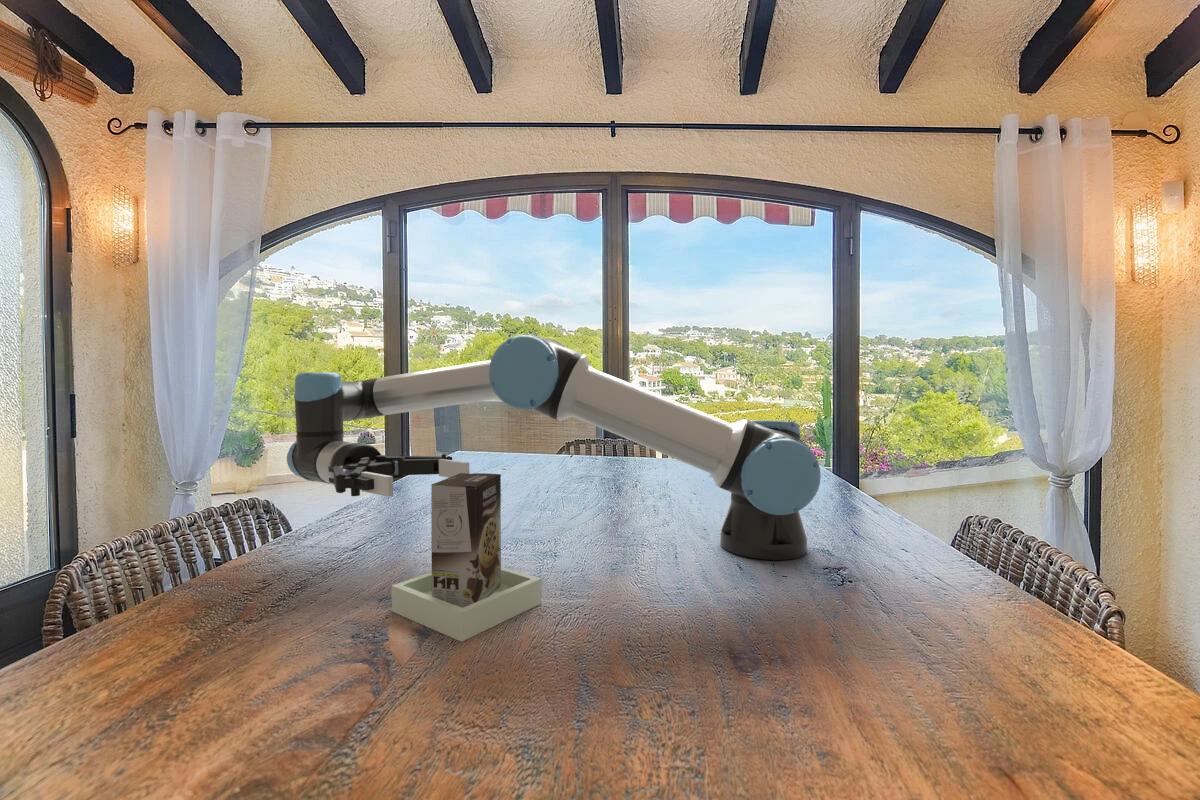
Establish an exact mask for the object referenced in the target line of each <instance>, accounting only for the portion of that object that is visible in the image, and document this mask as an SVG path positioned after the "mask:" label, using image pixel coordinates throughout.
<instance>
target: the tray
mask: <svg viewBox="0 0 1200 800" xmlns="http://www.w3.org/2000/svg"><path fill="white" fill-rule="evenodd" d="M542 584H543V583H542V578H540V577H538V576H535V575H531V574H528V573H524V572H521V571H518V570H514V569H512V568H509V567H508V568H507V567H504V566H502V565H501V586H500V587H499V588H498V589H497V590H496V591H495V592H494V593H493V594H491V595H490V596H489V597H487V598H485V599H483V600H480V601H478V602H476V603H473V604H471V605H468V606H466V607H464V608H461V607H458V606H456V605H453V604H451V603H448V602H445V601H443V600H440V599H438V598H435V597H432V571H430V572H428V573H425V574H421V575H419V576H416V577H412V578H410V579H406V580H404V581H401V582H398V583H394V584H393V585H391V612H392V613H394V614H397V615H399V616H402V617H404V618H406V619H408V620H410V621H413V622H415V623H417V624H420V625H422V626H425V627H426V628H429V629H431V630H434V631H436V632H439V633H441V634H443V635H445V636H448V637H449V638H451V639H454V640H456V641H459V642H461V643H462V642H464V641H467V640H468V639H470V638H473V637H475V636H476V635H478V634H480V633H481V634H482V632H485V631H487V630H490V629H491V628H493V627H495V626H498V625H500V624H502V623H503V622H506V621H508V620H510V619H512V618H514V617H517V616H518V615H521V614H522V613H525V612H526V611H528V610H530V609H533V608H536V607H537V606H540V605H542V600H543V599H542V598H543V597H542V595H543V594H542V589H543V588H542V587H543V586H542Z"/></svg>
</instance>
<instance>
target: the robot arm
mask: <svg viewBox="0 0 1200 800" xmlns="http://www.w3.org/2000/svg"><path fill="white" fill-rule="evenodd" d="M293 398H294V411H295V413H294V414H295V429H296V431H295V432H296V436H295V439H296V441H295V442H293V443H292V444H291V446H290V448H289V450H288V451H287V453H286V463H287V466H288V468H289V470H290V471H291V472H292V473H293V474H294V475H295V476H297V477H300V478H303V479H304V480H306V481H311V482H318V483H323V484H324V483H325V484H328V485H333V486H334V488H335V492H336V493H337V494H343V493H345V492H347V489H350V496H351V497H359V496H360V495H361V492H363V493H364V492H365V493H369V494H373V495H379V496H383V497H388V498H389V497H393V496H394V479H402V478H403V477H405V476H420V475H421V476H422V475H423V476H424V475H438V476H439V477H443V478H450V477H452V476H455V475H457V474H460V473H467V474H470V462H469V461H460V460H453V456H451V455H450V456H449V455H448V456H447V453H442V454H441V456H429V455H428V456H427V455H426V456H425V455H422V456H421V455H420V456H417V455H413V456H412V455H405V454H401V455H399V456H389V455H387V454H383V455H382V453H381V452H380V451H379V449H377V448H376V447H375V446H373V445H371V444H366V443H357V442H352V441H344V422H350V421H356V420H357V421H358V420H363V419H364V420H366V419H373V418H377V417H382V416H383V417H385V416H387V415H388V416H389V415H395V414H402V413H409V412H415V411H423V410H430V409H437V408H443V407H450V406H451V407H452V406H457V405H464V404H471V403H477V402H485V401H490V400H501V402H503V403H504V404H506V405H508V406H509V407H512V408H514V409H517V410H521V411H523V410H524V411H527V410H532V411H534V412H536V413H538V414H541V415H543V416H545V417H548V418H551V419H554V420H556V421H559V422H562V421H565V420H567V419H569V418H575V419H577V420H580V421H582V422H585V423H587V424H590V425H592V426H595V427H597V428H600V429H602V430H605V431H607V432H609V433H611V434H614V435H617V436H619V437H621V438H624V439H627V440H628V441H632V442H634V443H636V444H638V445H641V446H643V447H646V448H648V449H650V450H653V451H655V452H658V453H659V454H662V455H665V456H668V457H670V458H672V459H674V460H677V461H680V462H681V463H684V464H687V465H689V466H692V467H693V468H697V469H699V470H701V471H704V472H706V473H709V475H711V477H712V479H713V481H714V483H715V486H716V487H717V488H720V489H721V490H725V491H726V492H728V493H730V494H731V495H730V505H729V508H728V511H727V513H726V516H725V518H724V522H723V523H722V528H721V529H720V539H719V541H720V546H721V547H722V549H724V550H726V551H728V552H729V553H732V554H735V555H739V556H742V557H746V558H749V559H758V560H769V561H770V560H771V561H781V560H786V561H787V560H793V559H797V558H801V557H803V556H805V555H806V554H807V552H808V537H807V534H806V531H805V528H804V524H803V521H802V518H801V514H800V511H801V510H803V509H804V508H805V507H807V506H808V505H809V504H810V503H811V502H812V501H813V499H815V496H816V495H817V493H818V491H819V489H820V488H819V487H820V485H821V476H822V475H821V468H820V464H819V461H818V459H817V457H816V455H815V453H814V451H812V450H811V448H810V447H809V446H808V444H806V443H805V442H803V441H802V440H801V436H802V435H801V432H800V425H799V424H798V423H797V422H795V421H788V420H768V419H767V420H762V419H761V420H759V419H758V420H757V419H755V420H752V419H751V420H749V419H746V418H742V419H739V420H737V421H734V422H728V421H725V420H723V419H721V418H718V417H715V416H714V415H712V414H711V415H710V414H708V413H706V412H703V411H701V410H699V409H696V408H693V407H690V406H688V405H686V404H683V403H682V402H681V403H680V402H679V401H678V402H677V401H676V400H673V399H670V398H668V397H665V396H663V395H661V394H659V393H656V392H653V391H651V390H649V389H646V388H642V387H641V386H638V385H635V384H633V383H631V382H628V381H626V380H623V379H621V378H618V377H616V376H613V375H611V374H608V373H606V372H603V371H600V370H598V369H597V368H593V366H592V365H591V363H590V360H589V358H588V355H586V354H583V353H581V352H579V351H576V350H573V349H571V348H568V347H566V346H564V344H562V343H560V342H559V341H557V340H555V339H550V338H545V337H541V336H538V335H535V334H533V333H532V334H531V333H525V334H524V333H522V334H518V335H516V336H512V337H510V338H508V339H506V340H504V341H503V342H502V343H501V344H500V345H498V347H497V348H496V349H495V351H494V352H493V355H492V356H491V359H487V360H480V361H475V362H468V363H467V362H466V363H461V364H456V365H451V366H444V367H438V368H432V369H426V370H425V369H424V370H420V371H412V372H408V373H402V374H401V373H400V374H394V375H387V376H383V377H376V378H369V379H362V380H357V381H356V380H355V381H342V376H341V374H340V373H339V372H336V371H335V372H334V371H329V372H328V371H325V372H323V371H322V372H321V371H319V372H317V371H316V372H300V373H298V374H297V375H296V376H295V377H294V393H293ZM396 468H397V471H398V473H395V472H396Z"/></svg>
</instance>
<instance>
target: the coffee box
mask: <svg viewBox="0 0 1200 800" xmlns="http://www.w3.org/2000/svg"><path fill="white" fill-rule="evenodd" d="M501 476H502V474H499V473H485V472H484V473H483V472H482V473H480V472H479V473H478V472H477V473H476V472H475V473H469V474H467V473H460V474H457V475H455V476H452V477H450V478H448V477H446V478H445V479H442V480H439V481H437V482H435V483H432V484H431V485H430V486H431V493H430V494H431V499H430V500H431V503H430V504H431V509H430V510H431V513H430V514H431V517H430V518H431V542H430V543H431V572H432V597H435V598H438V599H440V600H443V601H445V602H448V603H451V604H453V605H456V606H458V607H461V608H464V607H466V606H468V605H471V604H473V603H476V602H478V601H480V600H483V599H485V598H487V597H489V596H490V595H491V594H493V593H494V592H495V591H496V590H497V589H498V588H499V587H500V586H501V566H502V547H501V546H502V523H501V521H502V516H501V515H502V509H501V508H502V507H501V506H502V504H501V503H502V502H501V500H502V492H501V490H502V489H501V487H502V486H501V483H502V481H501V479H502V477H501Z"/></svg>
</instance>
